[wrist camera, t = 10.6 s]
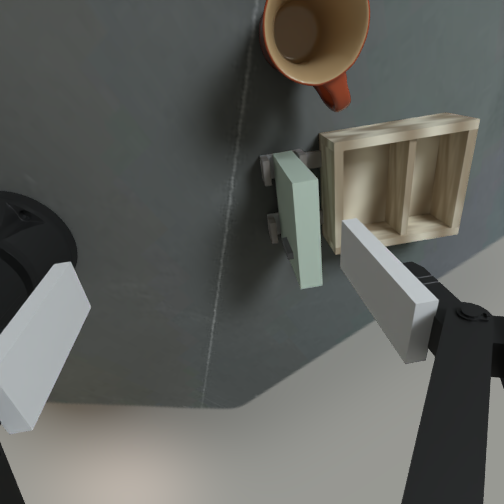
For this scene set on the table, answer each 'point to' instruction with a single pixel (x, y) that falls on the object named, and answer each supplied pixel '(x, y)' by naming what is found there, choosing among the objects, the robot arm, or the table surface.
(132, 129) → the table surface
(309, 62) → the mug
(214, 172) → the table surface
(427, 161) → the wooden divided box
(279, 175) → the block
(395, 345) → the robot arm
